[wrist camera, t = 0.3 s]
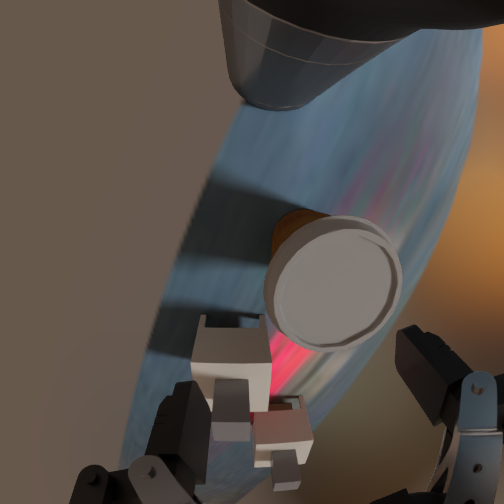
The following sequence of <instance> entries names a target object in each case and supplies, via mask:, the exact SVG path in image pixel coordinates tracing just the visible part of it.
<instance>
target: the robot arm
mask: <svg viewBox="0 0 504 504" xmlns="http://www.w3.org/2000/svg"><path fill="white" fill-rule="evenodd" d="M218 2H219V9H220V17H221V24H222V31H223V38H224V45H225V52H226V60H227V67H228V73H229V78H230V80H231V82H232V85H233V87H234V88H235V89H236V91H237V92H238V93H239V95H240V96H242V97H243V98H244V99H245V100H246V101H248V102H249V103H251V104H253V105H255V106H257V107H260V108H263V109H265V110H271V111H290V110H294V109H298V108H300V107H302V106H304V105H306V104H308V103H309V102H310V101H312V100H313V99H315V98H316V97H317V96H319V95H320V94H322V93H323V92H324V91H326V90H327V89H329V88H330V87H331V86H333V85H334V84H336V83H337V82H338V81H340V80H341V79H343V78H344V77H346V76H347V75H348V74H350V73H351V72H353V71H354V70H356V69H357V68H359V67H360V66H362V65H363V64H365V63H366V62H368V61H369V60H371V59H372V58H374V57H375V56H377V55H378V54H380V53H381V52H383V51H384V50H386V49H388V48H389V47H391V46H392V45H394V44H396V43H397V42H399V41H401V40H402V39H404V38H406V37H407V36H409V35H410V34H412V33H414V32H416V31H418V30H420V29H443V30H467V29H477V28H484V27H489V26H494V25H498V24H504V0H218ZM395 365H396V369H397V371H398V373H399V375H400V376H401V377H402V379H403V380H404V382H405V383H406V385H407V386H408V388H409V389H410V391H411V392H412V394H413V395H414V396H415V398H416V400H417V401H418V403H419V404H420V406H421V407H422V409H423V410H424V412H425V413H426V415H427V417H428V418H429V420H430V421H431V423H432V424H433V426H436V425H438V424H440V423H442V422H444V424H445V425H446V427H445V430H444V436H443V440H442V445H441V449H440V454H439V457H438V461H437V465H436V469H435V472H434V474H433V476H432V478H431V481H430V483H429V486H428V488H427V491H426V492H416V493H409V494H408V492H407V489H406V488H405V489H403V490H400V491H398V492H396V493H393V494H391V495H388V496H386V497H383V498H381V499H378V500H375V501H373V502H371V503H370V504H494V499H495V494H496V490H497V484H498V478H499V471H500V464H501V455H502V444H504V374H501V375H498V376H495V377H493V376H492V375H490V374H489V373H487V372H482V371H477V372H473V371H472V370H471V369H470V368H469V367H468V365H467V364H466V363H465V362H464V361H463V360H462V359H461V358H460V357H459V356H458V355H457V354H456V353H455V352H454V351H452V349H451V348H450V347H449V346H448V345H446V343H445V342H444V341H443V340H442V339H441V338H440V337H439V336H437V335H435V334H432V333H430V332H426V333H424V332H422V331H421V329H420V328H419V327H418V326H416V325H411V326H409V327H406V328H403V329H401V330H398V331H397V334H396V351H395ZM210 428H211V411H210V407H209V405H208V403H207V401H206V399H205V397H204V395H203V393H202V391H201V389H200V387H199V385H198V383H197V382H196V381H186V382H178V383H176V384H175V387H174V391H173V395H172V396H166V397H165V399H164V400H163V401H162V402H161V404H160V405H159V408H158V411H157V417H156V418H155V421H154V425H153V428H152V431H151V435H150V438H149V441H148V445H147V448H146V452H145V455H144V456H142V457H139V458H137V459H136V460H135V461H133V462H132V464H131V465H130V467H129V469H124V470H119V471H113V472H108V471H107V470H106V469H105V468H103V467H102V466H99V465H90V466H87V467H85V468H84V469H83V470H82V471H81V472H80V473H79V476H78V478H77V481H76V484H75V487H74V490H73V493H72V496H71V499H70V503H69V504H204V503H203V502H202V501H201V500H200V499H199V497H198V496H197V495H196V494H195V493H194V491H195V485H197V484H205V481H206V470H207V459H208V448H209V438H210Z"/></svg>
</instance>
